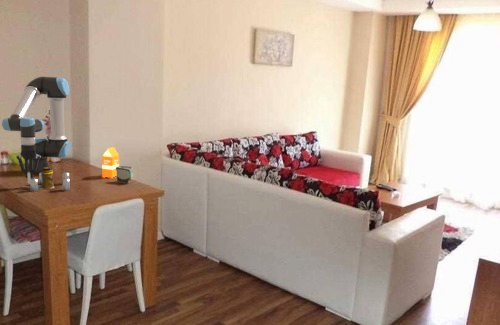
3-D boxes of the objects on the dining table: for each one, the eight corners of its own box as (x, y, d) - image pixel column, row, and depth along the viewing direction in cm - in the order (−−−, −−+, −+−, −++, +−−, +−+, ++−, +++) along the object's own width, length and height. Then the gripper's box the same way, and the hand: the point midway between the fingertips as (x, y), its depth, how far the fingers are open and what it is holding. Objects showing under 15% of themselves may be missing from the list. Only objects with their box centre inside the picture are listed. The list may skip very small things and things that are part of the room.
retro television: (136, 182, 280) (136, 167, 278) (130, 184, 274) (130, 169, 272) (121, 179, 285) (121, 165, 283) (115, 181, 279) (115, 166, 277)
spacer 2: (40, 183, 263) (39, 172, 262) (47, 183, 264) (47, 172, 263) (39, 184, 260) (38, 173, 258) (46, 184, 261) (45, 173, 259)
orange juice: (102, 177, 288) (101, 148, 285) (109, 174, 297) (109, 146, 293) (112, 178, 287) (112, 149, 283) (119, 175, 295) (119, 147, 292)
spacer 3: (63, 183, 267) (62, 172, 266) (69, 183, 268) (69, 172, 267) (62, 184, 263) (61, 173, 262) (69, 184, 264) (68, 173, 263)
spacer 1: (31, 189, 248) (30, 178, 246) (38, 189, 249) (38, 178, 248) (29, 191, 244) (29, 179, 243) (37, 191, 245) (37, 179, 244)
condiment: (55, 188, 255) (54, 168, 252) (39, 189, 250) (38, 169, 248) (52, 185, 261) (52, 166, 258) (37, 186, 256) (36, 166, 254)
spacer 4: (62, 189, 252) (62, 178, 251) (70, 189, 254) (69, 178, 252) (61, 191, 249) (61, 179, 247) (69, 191, 250) (69, 179, 249)
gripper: (14, 144, 243) (15, 185, 247) (39, 145, 246) (40, 184, 251) (17, 142, 250) (18, 181, 254) (41, 143, 253) (42, 181, 258)
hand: (29, 183), depth 252 cm, fingers closed
